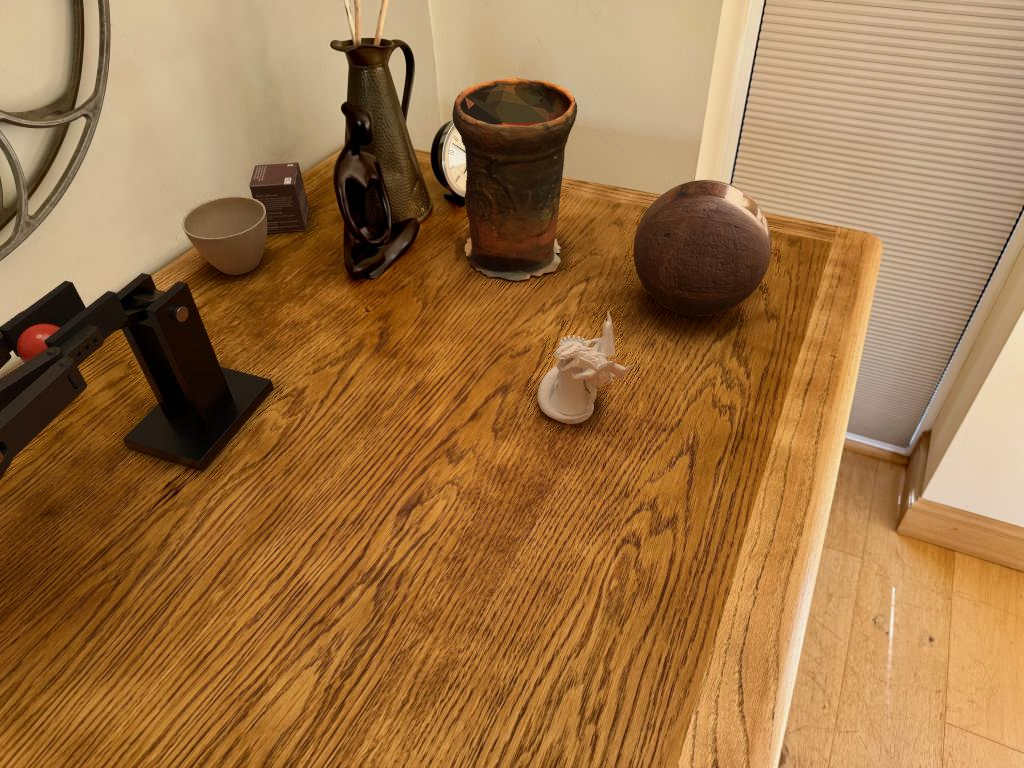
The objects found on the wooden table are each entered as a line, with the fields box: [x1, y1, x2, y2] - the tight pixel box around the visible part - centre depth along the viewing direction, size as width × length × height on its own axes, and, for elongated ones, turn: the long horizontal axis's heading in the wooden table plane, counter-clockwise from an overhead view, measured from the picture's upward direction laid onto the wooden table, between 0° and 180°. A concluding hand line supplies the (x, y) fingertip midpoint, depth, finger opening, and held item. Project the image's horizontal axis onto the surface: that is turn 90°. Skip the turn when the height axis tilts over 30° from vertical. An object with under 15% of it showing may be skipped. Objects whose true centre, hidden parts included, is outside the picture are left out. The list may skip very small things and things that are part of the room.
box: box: [248, 162, 310, 234], centre depth 99 cm, size 6×6×7 cm
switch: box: [17, 289, 167, 368], centre depth 59 cm, size 14×4×4 cm, turn 160°
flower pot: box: [181, 195, 268, 276], centre depth 92 cm, size 10×10×7 cm
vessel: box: [451, 77, 578, 281], centre depth 89 cm, size 14×14×20 cm
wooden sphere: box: [632, 179, 773, 317], centre depth 81 cm, size 15×15×15 cm
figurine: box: [537, 310, 636, 425], centre depth 69 cm, size 11×8×12 cm
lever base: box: [116, 272, 275, 471], centre depth 69 cm, size 12×9×16 cm
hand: (96, 300), depth 58 cm, fingers closed on switch, 4 cm apart
